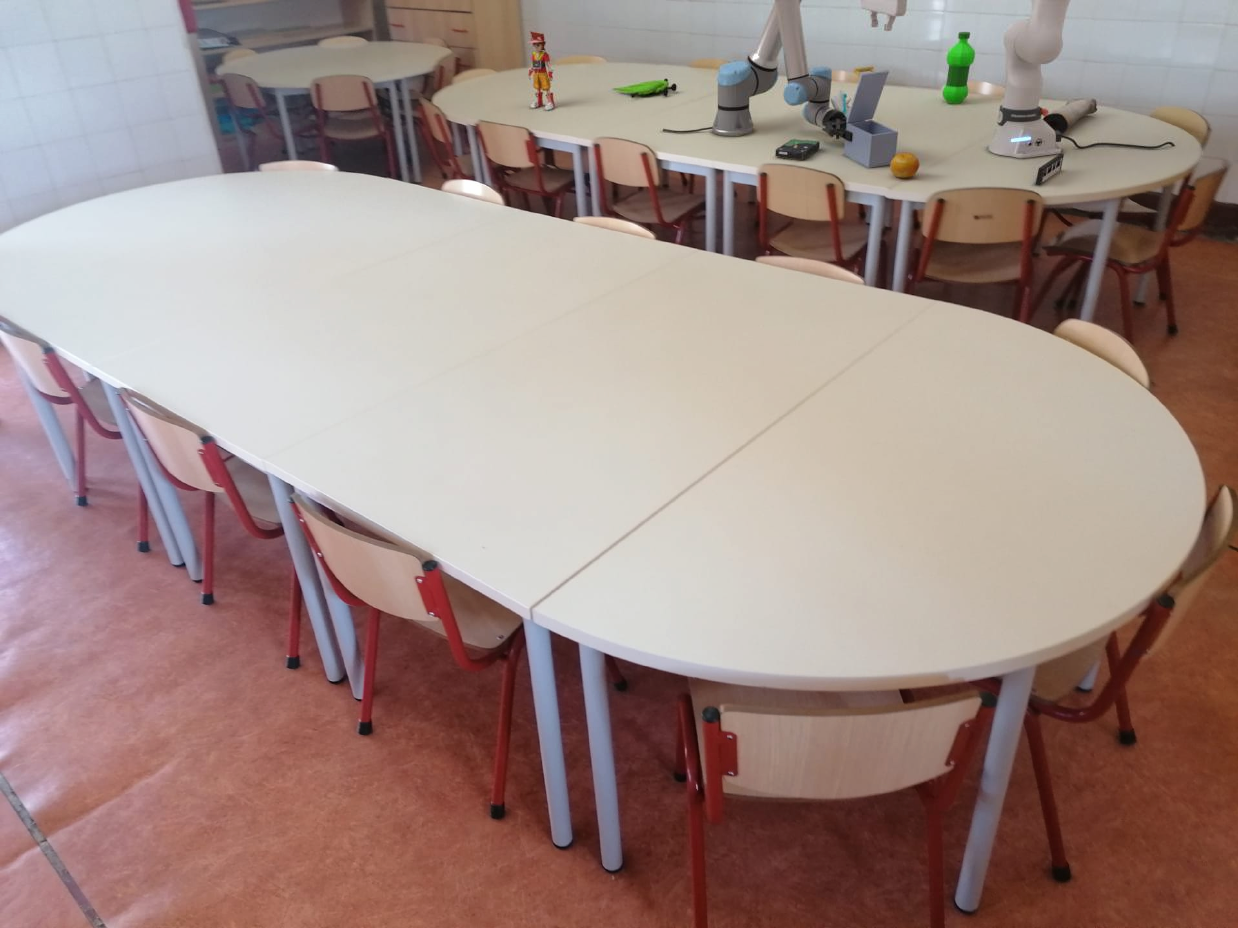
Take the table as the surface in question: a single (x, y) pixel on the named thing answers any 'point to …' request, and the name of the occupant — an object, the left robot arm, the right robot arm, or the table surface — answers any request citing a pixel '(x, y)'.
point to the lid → (867, 94)
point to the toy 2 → (648, 88)
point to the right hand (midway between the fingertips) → (880, 29)
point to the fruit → (904, 165)
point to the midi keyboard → (1049, 169)
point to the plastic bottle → (958, 69)
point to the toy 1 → (541, 71)
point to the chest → (871, 143)
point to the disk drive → (797, 149)
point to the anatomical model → (841, 103)
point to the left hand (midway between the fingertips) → (865, 135)
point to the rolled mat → (1070, 113)
